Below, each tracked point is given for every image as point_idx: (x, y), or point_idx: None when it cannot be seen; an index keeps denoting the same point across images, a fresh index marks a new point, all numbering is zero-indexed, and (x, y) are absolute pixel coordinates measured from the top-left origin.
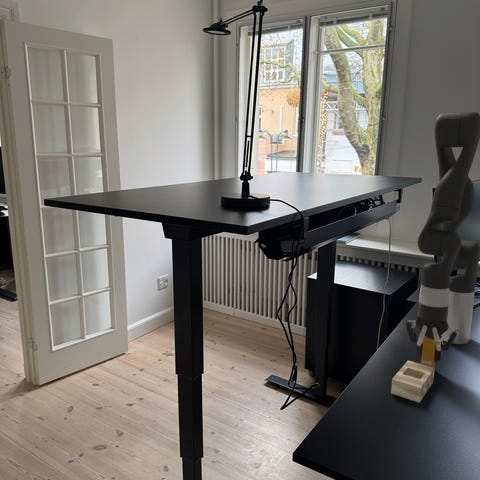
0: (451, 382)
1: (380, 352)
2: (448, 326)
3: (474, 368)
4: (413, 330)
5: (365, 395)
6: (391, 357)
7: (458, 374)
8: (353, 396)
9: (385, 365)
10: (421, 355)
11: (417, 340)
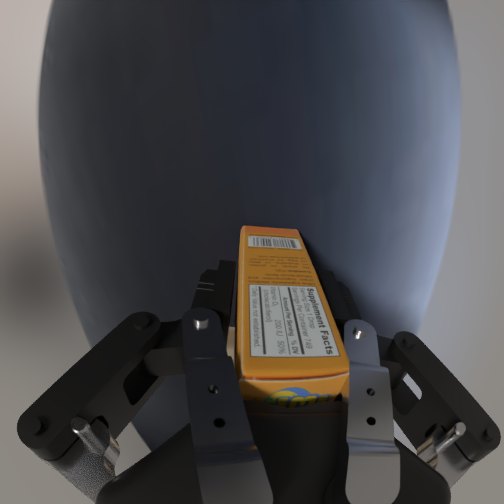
0: (363, 306)
1: (47, 186)
2: (443, 498)
3: (457, 133)
4: (115, 409)
5: (162, 424)
6: (93, 208)
7: (399, 226)
8: (148, 428)
9: (110, 293)
10: (231, 305)
11: (181, 370)
